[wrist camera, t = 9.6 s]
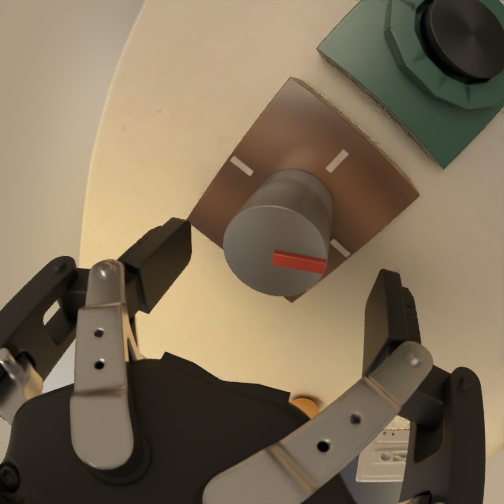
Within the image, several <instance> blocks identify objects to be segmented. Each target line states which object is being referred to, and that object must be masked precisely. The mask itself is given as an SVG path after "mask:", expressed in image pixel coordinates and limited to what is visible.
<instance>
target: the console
mask: <svg viewBox="0 0 504 504" xmlns="http://www.w3.org/2000/svg"><path fill="white" fill-rule="evenodd" d="M433 1H434V0H361V1H360V2H359V3H358V4H357V5H356V6H355V7H354V8H353V9H352V10H351V11H350V12H349V13H348V14H347V15H346V16H345V17H344V18H343V19H342V20H341V21H340V23H339V24H338V25H337V26H336V27H335V28H334V29H333V30H332V31H331V32H330V33H329V35H328V36H327V37H326V38H325V39H324V40H323V41H322V42H321V43H320V45H319V46H318V47H317V48H316V49H317V51H318V52H319V54H320V55H322V56H323V57H324V58H326V59H327V60H328V61H330V62H331V63H332V64H334V65H335V66H336V67H337V68H339V69H340V70H341V71H342V72H344V73H345V74H346V75H347V76H349V77H350V78H351V79H352V80H353V81H355V82H356V83H357V84H358V85H359V86H360V87H362V88H363V89H364V90H365V91H366V92H367V93H368V94H370V95H371V96H372V97H373V98H374V99H375V100H376V101H377V102H378V103H379V104H380V105H381V106H383V107H384V108H385V109H386V110H387V111H388V112H389V113H390V114H391V115H392V116H393V117H394V118H395V119H396V120H397V121H398V122H399V123H400V124H401V125H402V126H403V127H404V128H405V129H406V130H407V131H408V133H409V134H410V135H411V136H412V137H413V138H414V139H415V140H416V141H417V142H418V143H419V145H420V146H421V147H422V148H423V149H424V150H425V151H426V153H427V154H428V155H429V156H430V157H431V158H432V160H434V161H435V162H436V163H437V164H438V165H439V166H440V167H441V168H442V169H445V168H446V167H447V166H448V165H449V164H450V163H451V162H452V161H453V160H454V159H455V158H456V157H457V156H458V155H459V154H460V153H461V152H462V151H463V150H464V149H465V147H466V146H467V145H468V144H469V143H470V142H471V141H472V140H473V139H474V138H475V137H476V136H477V135H478V134H479V133H480V132H481V131H482V130H483V129H484V127H485V126H486V125H487V124H488V123H489V122H490V121H491V120H492V119H493V118H494V117H495V115H496V114H497V113H498V112H499V111H500V110H501V109H502V108H503V106H504V69H503V71H502V72H501V73H500V74H498V75H497V76H494V77H492V78H464V77H460V76H457V75H454V74H452V73H450V72H449V71H447V70H446V69H444V68H443V67H442V66H441V65H440V64H438V63H437V62H436V60H435V59H434V58H433V57H432V56H431V54H430V53H429V51H428V50H427V48H426V46H425V44H424V42H423V39H422V36H421V32H420V19H421V16H422V13H423V11H424V10H425V8H426V7H427V6H428V5H430V4H431V3H432V2H433ZM478 1H480V2H481V3H483V4H484V5H485V6H486V7H488V8H489V9H490V10H491V12H492V13H493V14H494V15H495V16H496V17H497V19H498V20H499V22H500V24H501V25H502V27H503V29H504V6H503V4H502V3H501V2H500V1H499V0H478Z"/></svg>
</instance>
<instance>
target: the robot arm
mask: <svg viewBox="0 0 504 504" xmlns="http://www.w3.org/2000/svg"><path fill="white" fill-rule="evenodd" d="M191 254H192V243H191V223H190V221H188V220H183V219H179V218H174V217H173V218H171V219H170V220H169V221H167V222H166V223H165V224H164V225H163V226H158V227H156V228H154V229H152V230H149V231H148V232H147V233H146V234H145V235H144V236H143V237H142V238H140V239H139V240H138V241H137V243H135V244H134V245H132V246H131V247H130V248H129V249H128V250H127V251H126V252H125V253H124V254H123V255H122V256H120V257H119V258H118V259H117V260H113V259H108V260H103V261H100V262H98V263H96V264H95V265H94V266H93V267H92V268H91V269H83V268H77V267H76V263H75V260H74V259H73V258H72V257H69V256H61V257H57V258H55V259H53V260H52V261H50V262H49V263H48V264H47V265H46V266H45V267H44V268H43V269H42V270H41V271H39V272H38V273H37V274H36V275H35V276H34V277H33V278H32V279H31V280H30V281H29V282H28V283H27V284H26V285H25V286H24V287H23V288H22V289H21V290H20V291H19V292H18V293H17V294H16V295H15V296H14V297H13V298H12V299H11V300H10V301H9V302H8V303H7V304H6V306H5V307H4V308H3V309H2V310H1V311H0V417H2V418H3V419H4V420H6V421H7V422H8V423H10V425H11V426H12V427H11V435H10V440H9V446H8V449H7V453H6V456H5V458H4V460H3V462H2V463H1V464H0V504H357V503H356V501H355V499H354V497H353V495H352V493H351V491H350V490H349V488H348V486H347V484H346V482H345V480H344V478H343V476H342V475H341V473H340V471H341V470H342V469H343V468H344V467H345V466H346V465H347V464H349V463H350V462H351V461H352V460H353V459H354V458H355V457H356V456H357V455H358V454H360V453H361V452H362V451H363V450H364V449H365V448H366V447H367V446H368V445H369V444H370V443H371V442H372V441H373V440H374V439H375V438H376V437H377V436H378V435H379V434H380V433H381V432H382V431H383V429H384V428H385V427H386V426H387V425H388V424H389V423H390V422H391V421H392V420H393V419H394V417H395V416H396V415H399V416H401V417H403V418H405V419H407V420H409V421H410V431H409V441H408V450H407V458H406V465H405V472H404V478H403V484H402V489H401V494H400V500H399V503H397V504H483V496H484V483H485V423H484V410H483V400H482V391H481V384H480V381H479V379H478V377H477V375H476V374H475V373H474V372H473V371H472V370H470V369H469V368H466V367H458V368H456V369H455V370H454V371H453V372H452V373H451V374H450V373H448V372H446V371H444V370H442V369H440V368H438V367H437V366H435V365H433V359H432V356H431V354H430V352H429V351H428V350H427V349H426V348H425V347H424V346H423V345H421V338H420V331H419V324H418V318H417V312H416V309H415V308H416V306H415V301H414V297H413V296H412V294H411V292H410V291H409V289H408V288H405V287H402V284H401V278H400V274H399V273H397V272H393V271H389V270H385V269H381V270H380V272H379V274H378V277H377V279H376V281H375V284H374V286H373V288H372V291H371V293H370V295H369V297H368V300H367V303H366V308H365V330H364V354H363V370H362V378H361V379H360V380H359V381H358V382H357V383H356V384H354V385H353V386H352V387H351V388H350V389H348V390H347V391H346V392H345V393H344V394H343V395H341V396H340V397H339V398H338V399H336V400H335V401H334V402H333V403H331V404H330V405H329V406H328V407H326V408H325V409H324V410H322V411H321V412H320V413H319V414H317V415H316V416H315V417H313V418H312V419H311V418H310V417H309V416H308V415H307V414H306V413H305V412H304V411H302V410H301V409H300V408H298V407H297V406H295V405H294V404H292V403H290V402H288V401H289V397H290V394H291V393H290V392H286V391H282V390H278V389H275V388H271V387H267V386H264V385H260V384H253V383H240V382H230V381H223V380H220V379H218V378H217V377H215V376H214V375H212V374H210V373H209V372H207V371H206V370H204V369H203V368H201V367H200V366H198V365H197V364H195V363H194V362H191V361H188V360H186V359H183V358H180V357H178V356H175V355H173V354H170V353H168V352H165V353H164V355H163V356H162V358H161V359H141V355H140V349H139V340H138V331H137V321H136V316H135V314H136V313H137V312H138V311H139V310H140V311H142V312H145V313H147V314H149V313H150V312H151V310H152V309H153V308H154V307H155V305H156V304H157V303H158V302H159V300H160V299H161V298H162V296H163V295H164V294H165V293H166V291H167V290H168V289H169V288H170V286H171V285H172V284H173V283H174V281H175V280H176V279H177V278H178V276H179V275H180V274H181V273H182V271H183V270H184V269H185V268H186V266H187V265H188V263H189V261H190V259H191ZM56 300H57V302H58V304H59V306H60V308H59V310H58V311H57V312H56V313H55V314H54V315H53V317H52V318H51V319H50V320H49V321H48V322H47V324H46V325H45V326H44V323H43V317H44V314H45V313H46V311H47V310H48V309H49V308H50V307H51V305H53V304H54V302H55V301H56ZM75 338H76V345H75V369H74V383H73V384H70V385H67V386H64V387H61V388H59V389H56V390H53V391H50V392H47V393H44V394H43V393H42V389H43V382H44V381H45V379H46V378H47V376H48V375H49V373H50V372H51V371H52V369H53V368H54V366H55V365H56V364H57V362H58V361H59V359H60V358H61V357H62V355H63V354H64V353H65V351H66V350H67V349H68V347H69V346H70V345H71V343H72V342H73V341H74V339H75Z"/></svg>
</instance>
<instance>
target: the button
mask: <svg viewBox="0 0 504 504" xmlns="http://www.w3.org/2000/svg"><path fill="white" fill-rule="evenodd" d="M420 32H421V36H422V39H423V42H424V44H425V46H426V48H427V50H428V51H429V53H430V54H431V56H432V57H433V58H434V59H435V60H436V62H437V63H438V64H440V65H441V66H442V67H443V68H444V69H446V70H447V71H449V72H450V73H452V74H454V75H457V76H460V77H464V78H492V77H494V76H497V75H498V74H500V73H501V72H502V71H503V69H504V29H503V27H502V25H501V24H500V22H499V20H498V19H497V17H496V16H495V15H494V14H493V13H492V12H491V10H490V9H489V8H488V7H486V6H485V5H484V4H483V3H481V2H480V1H478V0H434V1H433V2H432V3H431V4H430V5H428V6H427V7H426V8H425V10H424V11H423V13H422V16H421V19H420Z"/></svg>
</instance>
